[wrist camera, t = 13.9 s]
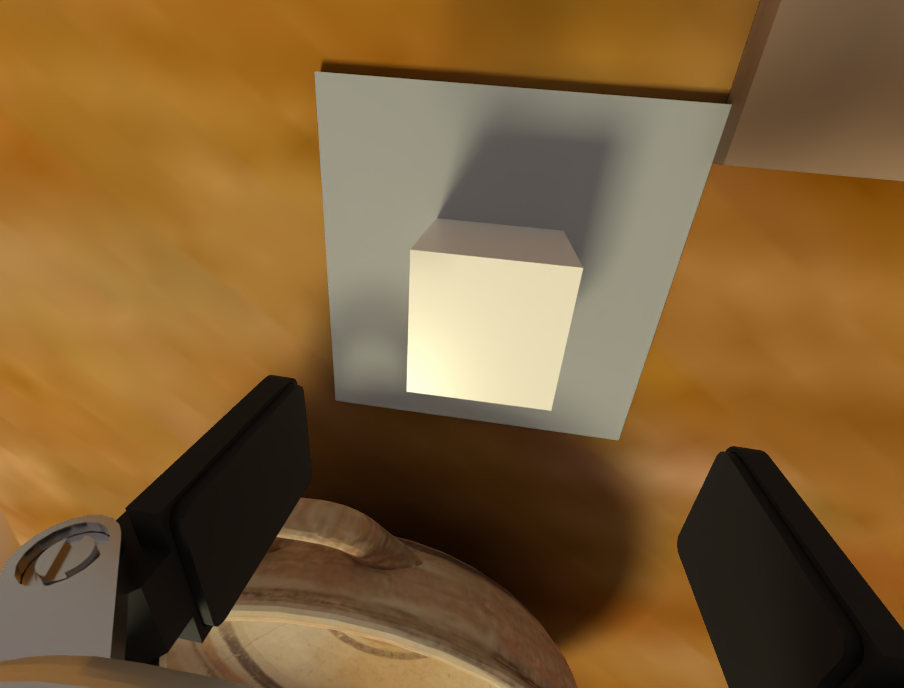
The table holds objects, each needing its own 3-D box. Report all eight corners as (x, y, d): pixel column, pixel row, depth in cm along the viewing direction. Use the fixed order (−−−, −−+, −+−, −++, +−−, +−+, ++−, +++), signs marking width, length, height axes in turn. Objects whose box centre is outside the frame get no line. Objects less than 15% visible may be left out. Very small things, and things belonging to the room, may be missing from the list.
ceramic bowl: (126, 390, 26) (-67, 521, 18) (594, 391, 22) (649, 563, 13) (280, 693, 43) (220, 839, 34) (565, 726, 39) (581, 903, 30)
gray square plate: (616, 434, 23) (618, 440, 23) (338, 395, 24) (335, 400, 24) (725, 105, 16) (731, 104, 15) (319, 72, 17) (314, 71, 17)
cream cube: (563, 230, 18) (583, 267, 13) (541, 344, 21) (551, 410, 16) (436, 218, 19) (409, 249, 14) (430, 330, 21) (406, 391, 16)
